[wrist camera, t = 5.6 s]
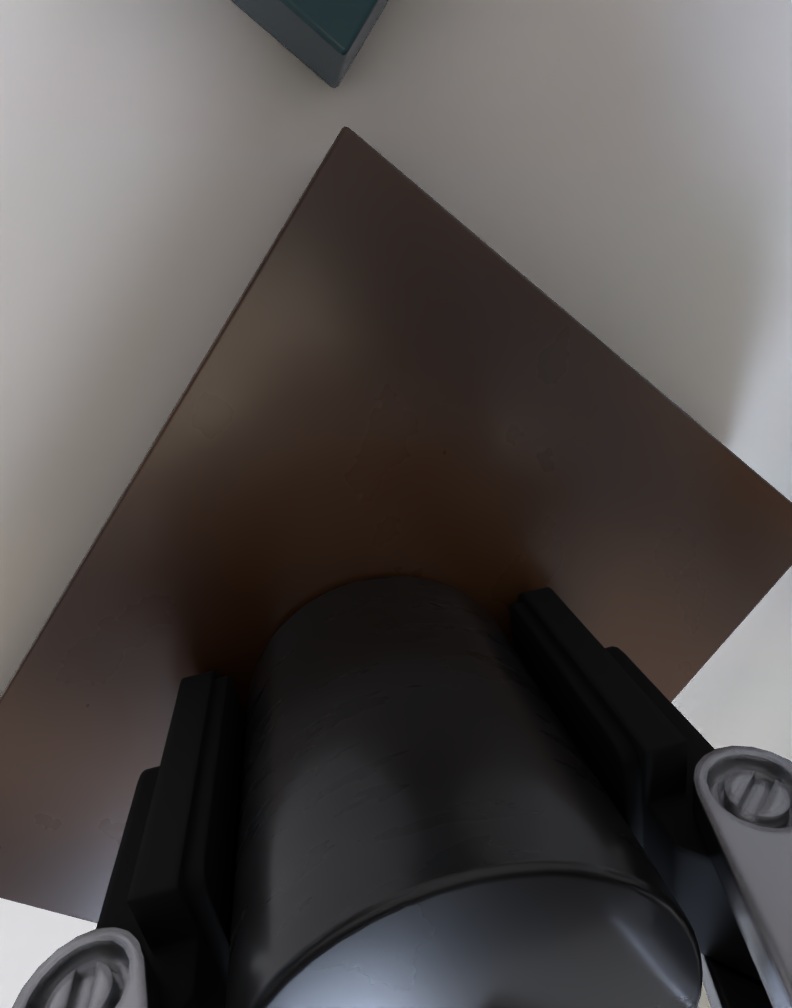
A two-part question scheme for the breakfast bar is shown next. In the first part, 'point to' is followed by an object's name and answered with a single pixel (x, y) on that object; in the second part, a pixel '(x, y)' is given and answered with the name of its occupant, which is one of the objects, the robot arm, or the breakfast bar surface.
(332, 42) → the button box
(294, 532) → the panel
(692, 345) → the breakfast bar surface
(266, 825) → the knob
